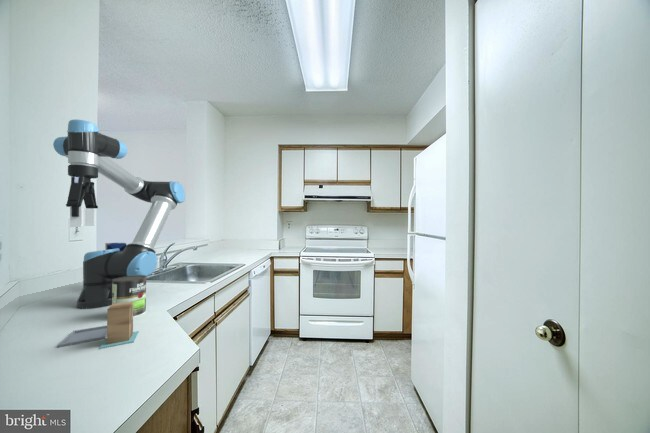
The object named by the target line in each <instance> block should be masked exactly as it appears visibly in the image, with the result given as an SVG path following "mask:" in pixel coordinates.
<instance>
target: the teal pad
mask: <svg viewBox="0 0 650 433" xmlns="http://www.w3.org/2000/svg"><path fill="white" fill-rule="evenodd" d="M139 331H140V330H137V331H133V334H132V336H131V338H130V340H129V341H124V342H118V343H113V344H108V345H107V337H106V338H105V339H104V341H103V342H102V343H101V345H100V346H99V350H102V349H107V348H112V347H118V346H124V345H127V344H132V343H135V340H136V339H137V337H138V334H139Z"/></svg>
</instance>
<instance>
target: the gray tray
mask: <svg viewBox="0 0 650 433" xmlns="http://www.w3.org/2000/svg"><path fill="white" fill-rule="evenodd" d="M106 338H107V325H102V326H95V327H94V326H93V327H90V328H82V329H75V330H73V331H72V332H70V334H68V335H67V336H66V337H65V338H63V339H62V341H61V342H60V343H58V345H57V348H59V349H60V348H65V347H70V346H74V345H80V344H86V343H91V342H96V341H97V342H98V341H102V340H106Z"/></svg>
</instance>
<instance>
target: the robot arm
mask: <svg viewBox="0 0 650 433" xmlns="http://www.w3.org/2000/svg"><path fill="white" fill-rule="evenodd" d="M66 133H67V136H58V137H56V138H55V139H54V141H53V144H52V146H53V149H54V151H56V153H57V154H58V155H60V156H62V157H65V158H67V163H68V165H67V175H68V176H69V177H70V187H69V191H68V197H67V202H66V203H65V206H66V208H69V212H70V213H69V227H70V228H83V217H84V227H95V226H96V209H99V206H98V204H97V199H96V191H95V182H94V181H92V180H91V179H93V180H94V179H97V178H99V174H100V175H102V176H103V177H105V178H107V179H108V180H110V181H112V182H113V183H115V184H116V185H118V186H120V187H121V188H122V189H124V192H126V193H127V194H128V195H130V196H132V197H133V198H136V199H138V200H140V201H143V202H146V203H150V207H149V210H148V211H147V213H146V216H145V217H144V219H143V220H142V222H141V225H140V227H139V229H138V231H137V233H136V234H135V237H134V238H133V241H132V242H130V243H126V247H125V249H124V250H123V252H120V250H119V248H116V249H109V250H105V249H104V250H103V249H102V250H96V251H95V250H94V251H89V252H86V253H85V254H84V256H83V261H82V282H83V284H82V289H81V292H80V293H79V296H78V298H77V300H76V308H77V309H93V308H100V307H101V308H102V307H105V306H106V307H107V306H111V305H112V280H113V279H116V278H119V277H125V276H134V275H144V276H147V277H149V276H151V275H152V274H153V273H154V272H155V270H156V268H157V267H158V256H157V254H156V250H155V246H156V243H157V242H158V239H159V237H160V235H161V233H162V230H163V228H164V226H165V224H166V221H167V219H168V217H169V215H170V213H171V210H175V209H176V207H177V205H178V204H182V203H184V202H185V199H186V192H185V188H184V186H183V185H182V184H181V183H180V182H179V181H172V180H171V181H149V180H144V179H143V178H142V177H138V176H135V175H134V174H132V173H131V172H129V171H128V170H126V169H125V168H124V167H123V166H121V165H119V164H118V163H116V162H115V161H114V160H113V159H116V160H121V159H124V158H125V157H126V156H127V154H128V147H127V145H126V143H124V142H123V141H121V140H119V139H117V138H113V137H111V136H108V135H105V134H102V133H101V132H100V130H99V126H98V125H97V124H96V123H93V122H91V121H89V120H83V119H70V120H69V121H68V124H67V131H66ZM83 202H84V205H85V206H84V207H85V208H84V211H83V207H82V205H83ZM83 212H84V214H83ZM83 215H84V216H83Z"/></svg>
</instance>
